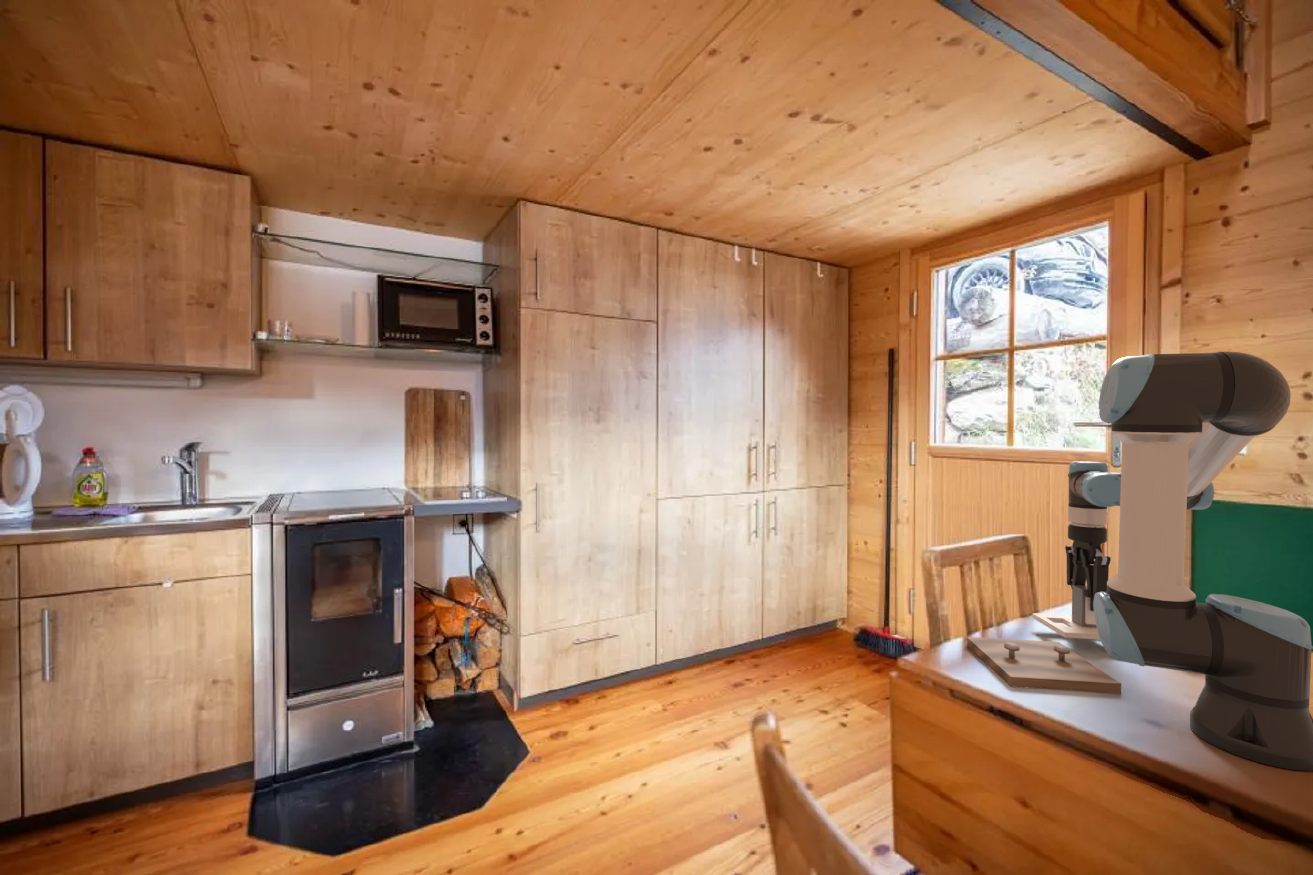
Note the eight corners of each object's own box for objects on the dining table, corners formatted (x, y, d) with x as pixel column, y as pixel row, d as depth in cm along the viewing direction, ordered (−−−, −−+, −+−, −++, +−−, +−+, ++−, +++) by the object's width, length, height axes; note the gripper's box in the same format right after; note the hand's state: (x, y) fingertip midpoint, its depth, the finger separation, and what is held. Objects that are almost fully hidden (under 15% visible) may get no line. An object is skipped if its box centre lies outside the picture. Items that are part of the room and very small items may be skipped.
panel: (1145, 642, 126) (1146, 597, 126) (1064, 637, 128) (1065, 593, 128) (1104, 621, 140) (1105, 581, 140) (1032, 617, 142) (1033, 578, 142)
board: (1121, 693, 108) (1121, 670, 107) (1010, 686, 110) (1011, 663, 110) (1058, 650, 128) (1058, 630, 128) (966, 645, 131) (967, 626, 131)
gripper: (1129, 531, 125) (1127, 633, 125) (1082, 520, 142) (1080, 610, 142) (1092, 530, 126) (1091, 631, 126) (1050, 519, 143) (1049, 608, 143)
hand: (1085, 620), depth 134 cm, fingers closed on panel, 4 cm apart
